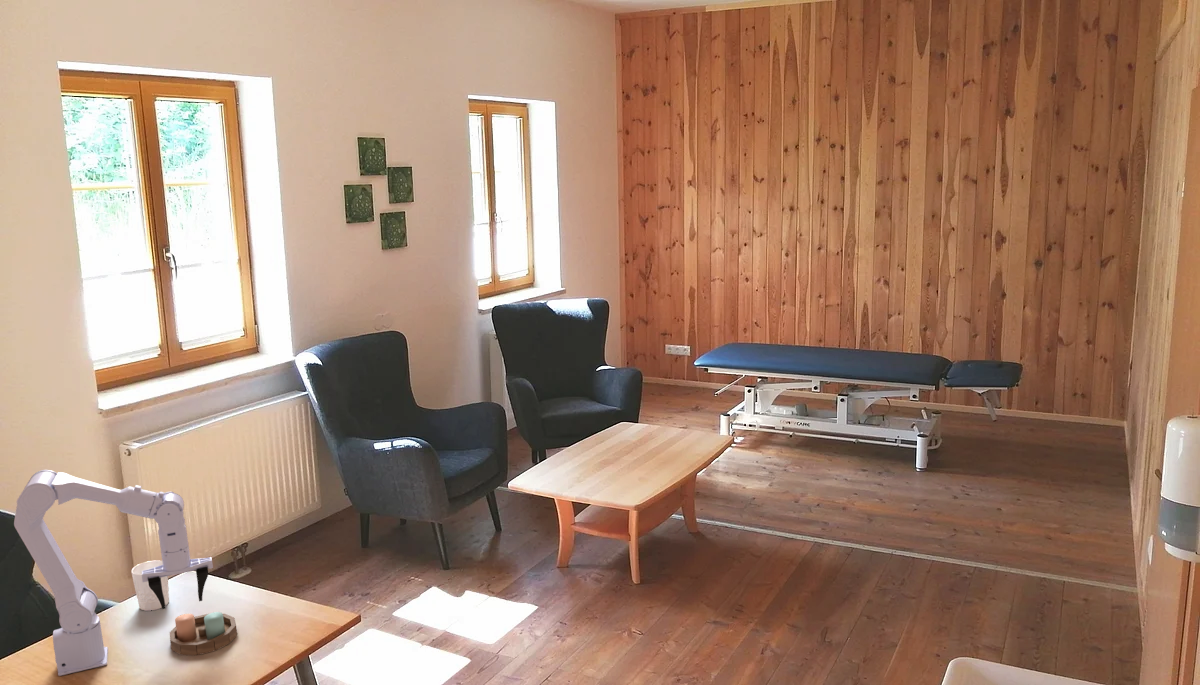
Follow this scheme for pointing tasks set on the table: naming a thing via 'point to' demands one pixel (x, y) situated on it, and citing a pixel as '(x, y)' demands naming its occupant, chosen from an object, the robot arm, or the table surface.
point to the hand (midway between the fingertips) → (182, 603)
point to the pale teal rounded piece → (214, 625)
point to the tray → (204, 638)
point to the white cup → (143, 590)
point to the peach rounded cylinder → (186, 627)
